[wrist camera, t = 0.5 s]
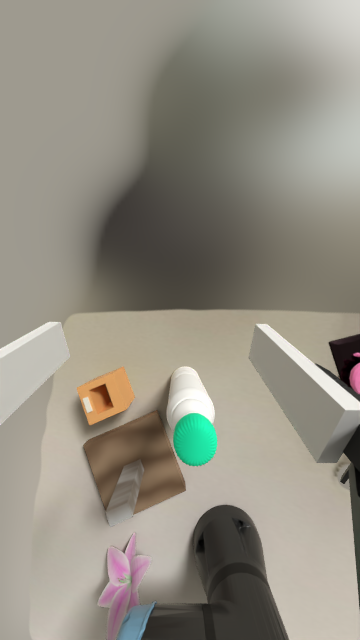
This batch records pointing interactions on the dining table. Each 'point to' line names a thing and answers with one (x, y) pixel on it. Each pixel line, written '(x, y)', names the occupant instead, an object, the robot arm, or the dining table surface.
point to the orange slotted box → (106, 395)
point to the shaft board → (131, 450)
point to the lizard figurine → (348, 360)
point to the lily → (122, 584)
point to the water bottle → (191, 418)
